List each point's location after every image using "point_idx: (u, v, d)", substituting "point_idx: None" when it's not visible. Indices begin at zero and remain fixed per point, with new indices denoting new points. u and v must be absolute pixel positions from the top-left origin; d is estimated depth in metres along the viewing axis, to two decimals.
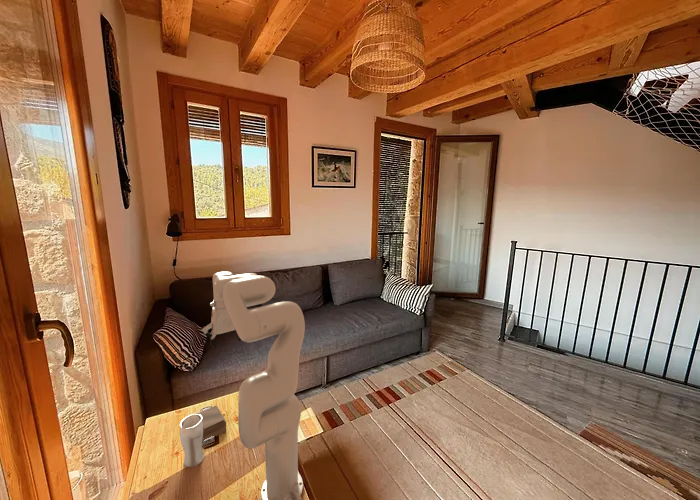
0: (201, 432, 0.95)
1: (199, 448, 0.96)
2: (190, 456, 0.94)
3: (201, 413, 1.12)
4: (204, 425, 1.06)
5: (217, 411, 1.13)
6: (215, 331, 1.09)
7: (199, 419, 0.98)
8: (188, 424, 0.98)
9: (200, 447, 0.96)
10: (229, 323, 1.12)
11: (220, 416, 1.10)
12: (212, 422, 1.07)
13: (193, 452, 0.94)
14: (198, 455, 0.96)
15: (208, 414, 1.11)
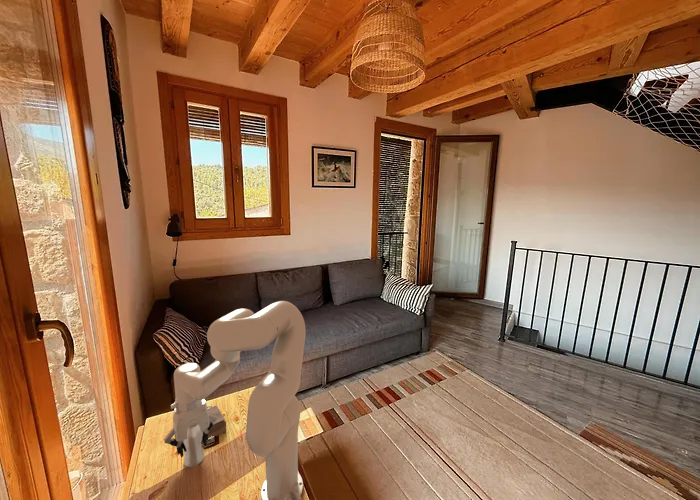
0: (201, 432, 0.95)
1: (199, 448, 0.96)
2: (189, 456, 0.94)
3: None
4: None
5: (217, 411, 1.13)
6: (177, 439, 0.90)
7: None
8: None
9: (200, 447, 0.96)
10: None
11: (220, 416, 1.10)
12: None
13: (193, 452, 0.94)
14: (198, 455, 0.96)
15: None
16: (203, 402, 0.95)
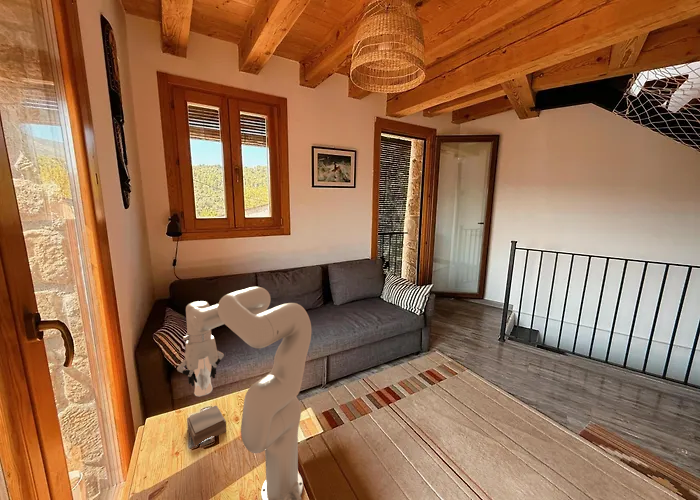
0: (210, 365, 1.04)
1: (208, 380, 1.05)
2: (200, 386, 1.03)
3: (201, 413, 1.12)
4: (204, 425, 1.06)
5: (217, 411, 1.13)
6: (189, 367, 1.00)
7: None
8: None
9: (209, 379, 1.05)
10: None
11: (220, 416, 1.10)
12: (212, 422, 1.07)
13: (203, 383, 1.04)
14: (207, 386, 1.05)
15: (208, 414, 1.11)
16: (212, 337, 1.04)
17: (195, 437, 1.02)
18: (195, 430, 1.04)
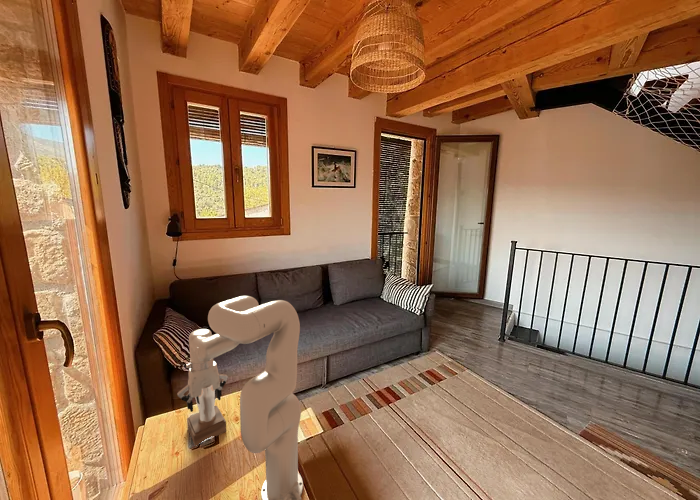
0: (214, 393, 1.07)
1: (212, 407, 1.08)
2: (204, 414, 1.06)
3: None
4: (204, 425, 1.06)
5: (217, 411, 1.13)
6: (191, 394, 1.02)
7: None
8: None
9: (213, 406, 1.08)
10: (207, 385, 1.05)
11: (220, 416, 1.10)
12: (212, 422, 1.07)
13: (207, 410, 1.06)
14: (211, 413, 1.08)
15: None
16: (214, 364, 1.07)
17: (195, 437, 1.02)
18: (195, 430, 1.04)
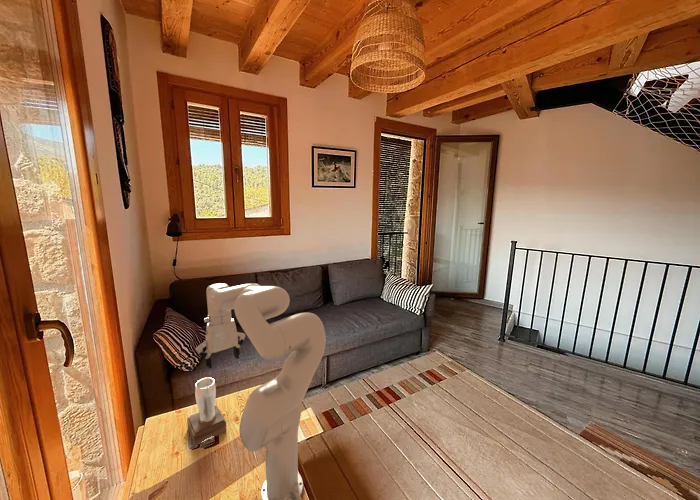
0: (214, 393, 1.07)
1: (212, 407, 1.08)
2: (204, 414, 1.06)
3: None
4: (204, 425, 1.06)
5: (217, 411, 1.13)
6: (210, 350, 0.99)
7: (211, 382, 1.10)
8: (201, 387, 1.10)
9: (213, 406, 1.08)
10: (226, 340, 1.02)
11: (220, 416, 1.10)
12: (212, 422, 1.07)
13: (207, 410, 1.06)
14: (211, 413, 1.08)
15: None
16: (232, 320, 1.04)
17: (195, 437, 1.02)
18: (195, 430, 1.04)
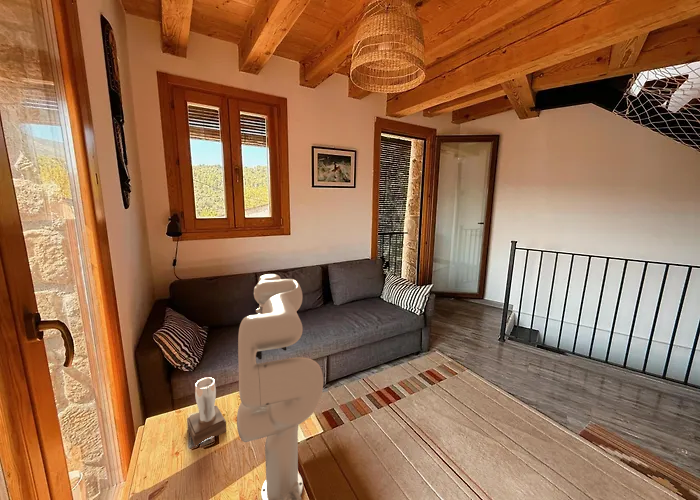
0: (214, 393, 1.07)
1: (212, 407, 1.08)
2: (204, 414, 1.06)
3: None
4: (204, 425, 1.06)
5: (217, 411, 1.13)
6: None
7: (211, 382, 1.10)
8: (201, 387, 1.10)
9: (213, 406, 1.08)
10: None
11: (220, 416, 1.10)
12: (212, 422, 1.07)
13: (207, 410, 1.06)
14: (211, 413, 1.08)
15: None
16: None
17: (195, 437, 1.02)
18: (195, 430, 1.04)
